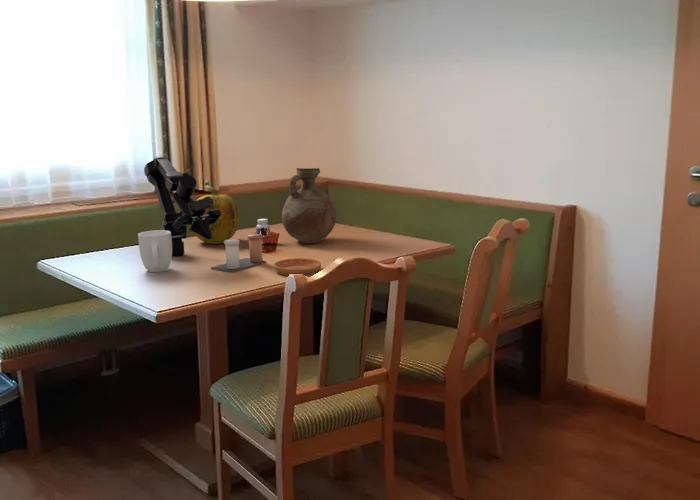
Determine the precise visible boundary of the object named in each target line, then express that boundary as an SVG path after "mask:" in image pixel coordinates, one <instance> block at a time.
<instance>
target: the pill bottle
mask: <svg viewBox="0 0 700 500" xmlns="http://www.w3.org/2000/svg"><path fill="white" fill-rule="evenodd" d="M268 223H269V221H268V218H259V219H257V225H256V226H255V229H256V233H255V234H257V233H260V231H261V228H263V227H265V228H267V230H268V231H269V232H270V233H271V226H270V225H269V224H268Z"/></svg>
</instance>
